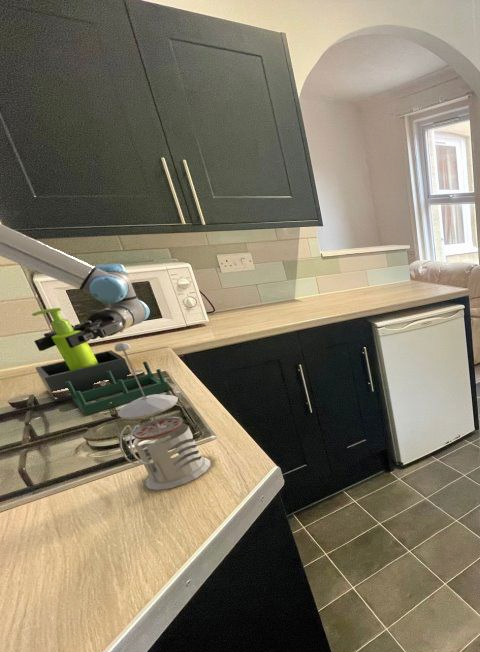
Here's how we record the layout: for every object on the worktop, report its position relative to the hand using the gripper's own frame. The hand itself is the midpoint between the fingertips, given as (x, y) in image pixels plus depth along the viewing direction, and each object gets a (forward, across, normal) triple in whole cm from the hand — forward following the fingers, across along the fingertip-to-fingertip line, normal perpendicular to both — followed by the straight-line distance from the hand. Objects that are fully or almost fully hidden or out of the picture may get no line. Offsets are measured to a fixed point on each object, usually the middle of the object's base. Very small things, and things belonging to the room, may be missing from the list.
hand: (54, 344), depth 107 cm
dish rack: (+7, -14, -14) cm, 21 cm away
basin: (-5, 0, -14) cm, 15 cm away
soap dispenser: (-5, 0, -12) cm, 13 cm away
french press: (+52, -45, -14) cm, 70 cm away
